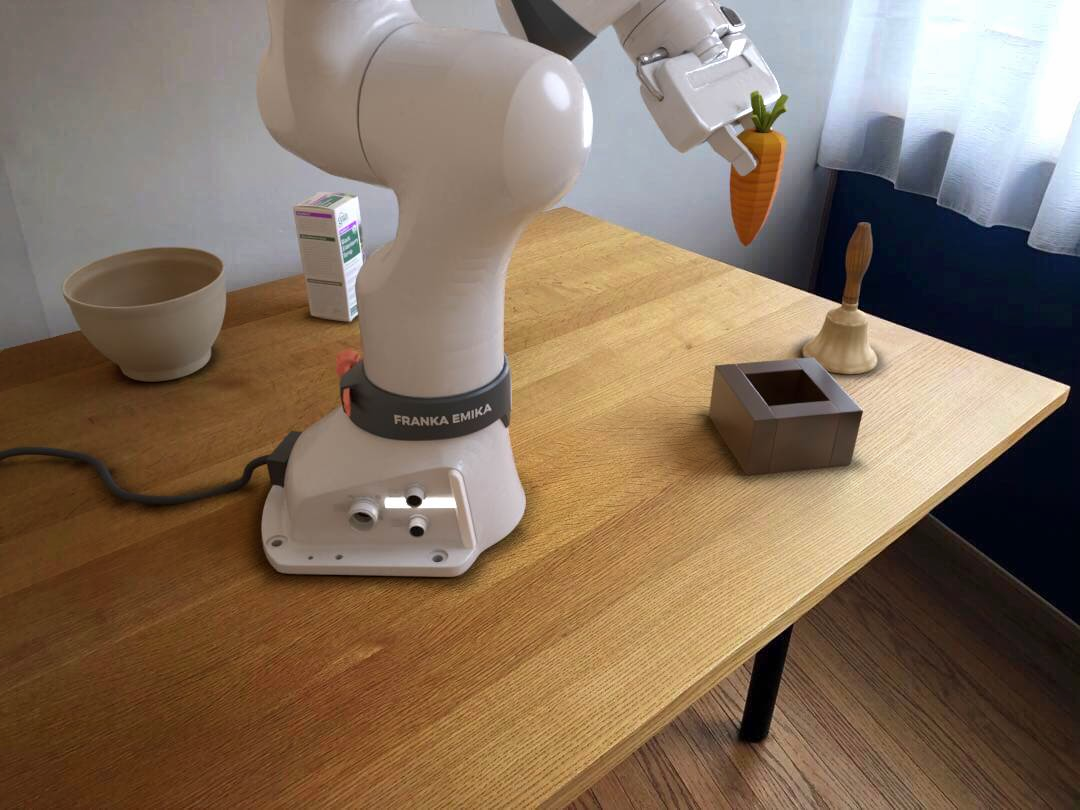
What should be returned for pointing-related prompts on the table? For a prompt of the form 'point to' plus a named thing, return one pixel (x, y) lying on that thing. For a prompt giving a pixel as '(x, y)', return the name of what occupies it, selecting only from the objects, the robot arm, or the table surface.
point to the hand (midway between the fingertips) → (763, 163)
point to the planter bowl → (151, 309)
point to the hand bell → (847, 317)
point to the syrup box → (330, 252)
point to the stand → (783, 415)
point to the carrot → (758, 170)
